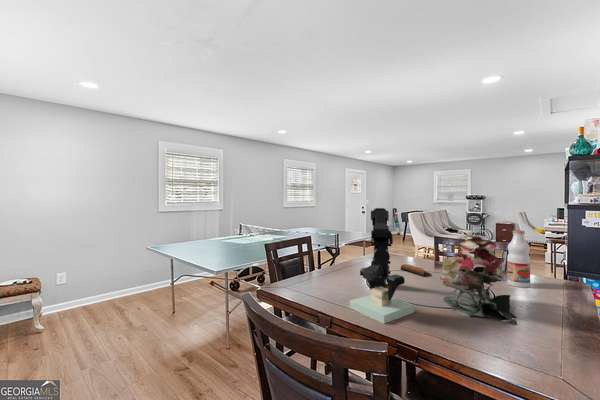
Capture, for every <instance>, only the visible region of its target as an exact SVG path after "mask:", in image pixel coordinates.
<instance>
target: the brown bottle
mask: <svg viewBox="0 0 600 400" xmlns="http://www.w3.org/2000/svg"><path fill="white" fill-rule="evenodd" d="M402 270H403V271H405V272H411V273H413V274H416V275H420V276H422V277H424V278H426V277H430V276H433V274H432V273H431V272H429V271H427V270H425V269H423V268H422V267H418V266H415V265H411V264H402V265H401V266H400V271H402Z"/></svg>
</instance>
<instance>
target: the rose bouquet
mask: <svg viewBox="0 0 600 400" xmlns="http://www.w3.org/2000/svg"><path fill="white" fill-rule="evenodd" d="M464 240H465V241H462V242H460V243H459V245H460V246H461V247H462V249H463V250H461V255H462V256H452V257H451V256H450V257H448V258H447V259H446V260H444V261H442V264H441V265H442V266H441V268H442V269H443V270H442V271H441V272H442V273H444V274H443V275H442V276H440V277H439V279H440V280H441V281H442V283H441V285H442V286H446V287H449V288H452V289H454V290H453V291H452V292H451V294H450V293H448V294H447V295H445V297H443V298H442V301H443V302H444V303H446V304H447V305H449V306H451V308H452V309H451V311H453V312H456V311H459V314H460V315H463V316H465V317H467V318H468V317H469V318H470V317H472V316H476V317H481V318H486V319H492V316H489V315H487V314H485V313H484V310H485V307H486V308H488V309H490V310H491V311H494V312H496V313H499V314H500V315H501V316H503V317H505V318H506V319H503V320H500V321H501V322H504V323H508V324H513V325H515V326H517V325H518V324H517V322H516V321H517V320H516V319H515V318H517V316H516V315H514V314H513V313H512V312H510V310H511V304H510V301H511V298H510V297H512V295H511V294H501V295H496V296H494V298H492V297H490V295H491V293H490V288H491V286H492V287H493V286H494V284H492V283H497V282H502V281H506V278H504V277H503V276H502V275H501V274H502V269H503V267H502V266H501V265H502V264H503V263H504V262H505V260H506V259H505V258H504V257H498V256H497V253H496V252H495V250H496V249H497V248H498V245H497V243H496V242H493V241H491V240H489V239H487V238H485V236H481V235H471V236H470V235H469V236H468V235H467V237H465V238H464ZM507 272H508V273H513V272H511V271H507V270H506V273H507ZM484 284H487V285H489V286H488V287H487V288H485V285H484ZM456 291H459V293H458V295H455V294H456ZM463 294H467V295H469V296H470V297H464V296H463ZM476 307H477V308H476ZM512 318H514V319H512ZM516 324H517V325H516Z"/></svg>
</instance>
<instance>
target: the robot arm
mask: <svg viewBox="0 0 600 400" xmlns="http://www.w3.org/2000/svg"><path fill="white" fill-rule="evenodd" d="M389 215H390V214H389V210H386V208H384V207H381V208H380V207H376V208H374V209H373V210H370V221H372V230H371V234H370V235H371V236H370V237H371V239H370V241H371V242H370V243H371V247H373V257H372V260H371V262H370V265H368V266H367V267H362V268H360V270H359V275H360V276H362V278H363V279H364V280H366V281H367V284H368V287H369V290H370V291H371V289H372V288H376V287H380V286H381V287H384V288H386V287H387V289H388V299H389V300H391V299H392V297H394V295H395V293H396V291H397V288H398V287H399V286H401V285H404V284H405V277H404V276H403V275H400V274H396V273H394V274H392V273H391V270H390V264H391V260H390V258H391V256H390V253H389V247H392V245H393V243H394V241H393V233H392V231H391V230H390V227H389V225H388V221H389V220H390V219H389V217H390V216H389Z"/></svg>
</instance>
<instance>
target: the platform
mask: <svg viewBox="0 0 600 400" xmlns="http://www.w3.org/2000/svg"><path fill="white" fill-rule="evenodd" d="M349 309H351V310H353V311H356V312H358V313H361V314H362V315H364V316H366V317H368V316H369V318H371V319H373V320H375V321H377V322H379V323H381V324H386V323H390V322H393V321H395V320H397V319H400V318H403V317H405V316H408V315H411V314H414V313H415V305H414V304H413V303H409V302H407V301H404V300H402V299H399V298H396V297H394V296H393V297H392V299H391V304H387V305H384V306H380V305H377V304H375V303H372V302H371V294H368V295H365V296H361V297H357V298H354V299H351V300H349Z"/></svg>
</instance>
